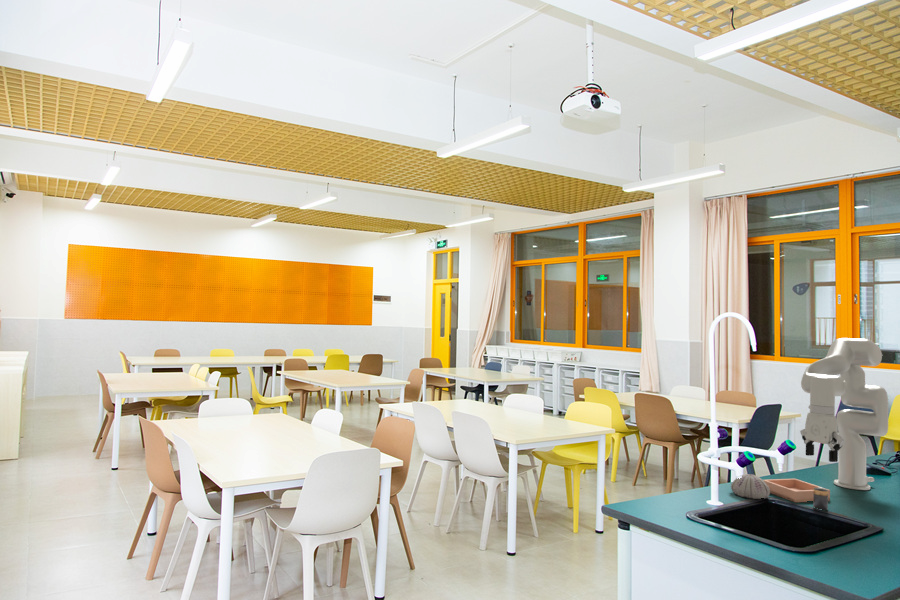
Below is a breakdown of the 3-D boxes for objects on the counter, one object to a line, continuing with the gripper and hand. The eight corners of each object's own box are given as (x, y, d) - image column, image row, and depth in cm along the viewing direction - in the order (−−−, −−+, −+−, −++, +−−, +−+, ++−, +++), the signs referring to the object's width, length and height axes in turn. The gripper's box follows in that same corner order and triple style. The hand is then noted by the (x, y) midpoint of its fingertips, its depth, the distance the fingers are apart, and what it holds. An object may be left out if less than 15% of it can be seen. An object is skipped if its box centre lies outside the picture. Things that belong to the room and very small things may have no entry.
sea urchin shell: (773, 503, 215) (774, 481, 215) (733, 498, 219) (733, 476, 219) (766, 493, 227) (766, 472, 227) (728, 489, 231) (728, 468, 232)
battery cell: (820, 506, 212) (820, 485, 212) (831, 510, 207) (831, 489, 208) (810, 507, 211) (810, 486, 211) (820, 511, 206) (821, 489, 207)
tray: (794, 488, 236) (795, 478, 236) (829, 500, 220) (830, 490, 220) (761, 489, 232) (762, 479, 232) (795, 502, 216) (795, 491, 216)
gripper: (793, 406, 218) (792, 453, 217) (835, 414, 201) (834, 464, 200) (810, 407, 220) (809, 452, 219) (852, 414, 203) (851, 464, 202)
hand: (821, 458), depth 210 cm, fingers open, 9 cm apart
